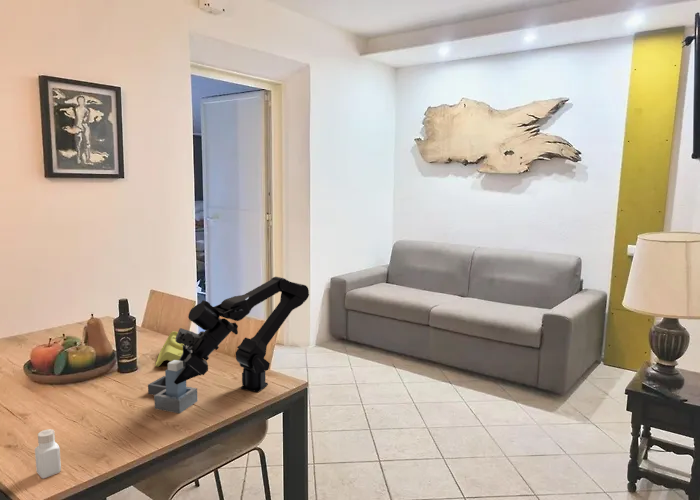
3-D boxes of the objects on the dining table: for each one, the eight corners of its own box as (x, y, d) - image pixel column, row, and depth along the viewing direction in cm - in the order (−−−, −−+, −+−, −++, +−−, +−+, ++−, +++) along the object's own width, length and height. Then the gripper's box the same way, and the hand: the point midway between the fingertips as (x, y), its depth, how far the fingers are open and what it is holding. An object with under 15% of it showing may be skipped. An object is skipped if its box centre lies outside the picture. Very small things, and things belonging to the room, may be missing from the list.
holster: (183, 388, 157) (183, 379, 157) (168, 397, 150) (168, 388, 150) (164, 384, 159) (163, 375, 159) (148, 394, 152) (147, 384, 152)
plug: (186, 403, 147) (185, 360, 145) (178, 408, 143) (176, 365, 141) (175, 401, 148) (173, 359, 146) (166, 406, 144) (165, 363, 142)
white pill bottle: (41, 480, 108) (38, 439, 107) (35, 473, 111) (32, 432, 110) (62, 472, 111) (59, 432, 110) (55, 465, 114) (52, 426, 113)
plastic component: (190, 360, 175) (163, 349, 172) (181, 378, 176) (154, 368, 173) (194, 338, 194) (169, 329, 191) (186, 355, 195) (161, 345, 192)
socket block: (197, 401, 148) (197, 387, 147) (179, 413, 140) (179, 398, 140) (173, 397, 151) (173, 383, 150) (154, 408, 143) (154, 394, 142)
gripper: (190, 311, 152) (153, 350, 150) (194, 328, 135) (152, 372, 133) (217, 333, 156) (181, 371, 154) (224, 353, 139) (184, 396, 137)
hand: (174, 377), depth 144 cm, fingers open, 9 cm apart
